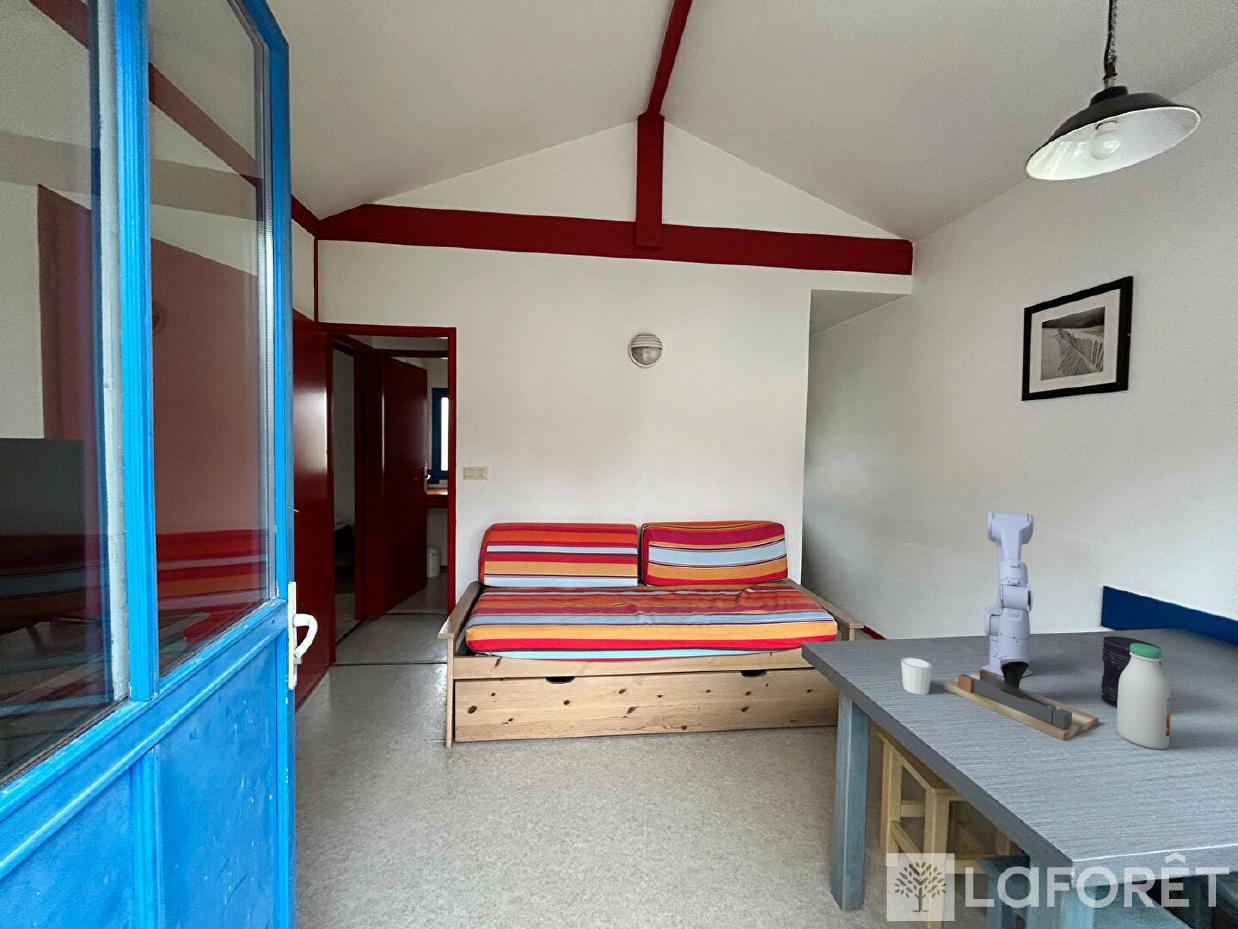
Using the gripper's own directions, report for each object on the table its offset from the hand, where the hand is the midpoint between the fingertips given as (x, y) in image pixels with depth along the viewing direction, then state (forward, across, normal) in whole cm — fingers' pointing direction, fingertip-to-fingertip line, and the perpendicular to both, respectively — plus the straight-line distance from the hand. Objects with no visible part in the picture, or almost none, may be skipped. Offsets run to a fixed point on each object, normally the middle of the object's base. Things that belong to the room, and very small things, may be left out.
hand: (1011, 690), depth 123 cm
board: (+3, +1, +2) cm, 3 cm away
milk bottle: (+3, -6, +21) cm, 22 cm away
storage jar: (+3, -24, +13) cm, 27 cm away
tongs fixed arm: (+1, +6, +3) cm, 7 cm away
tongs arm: (+1, +2, +2) cm, 3 cm away
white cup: (+3, +15, -14) cm, 21 cm away
